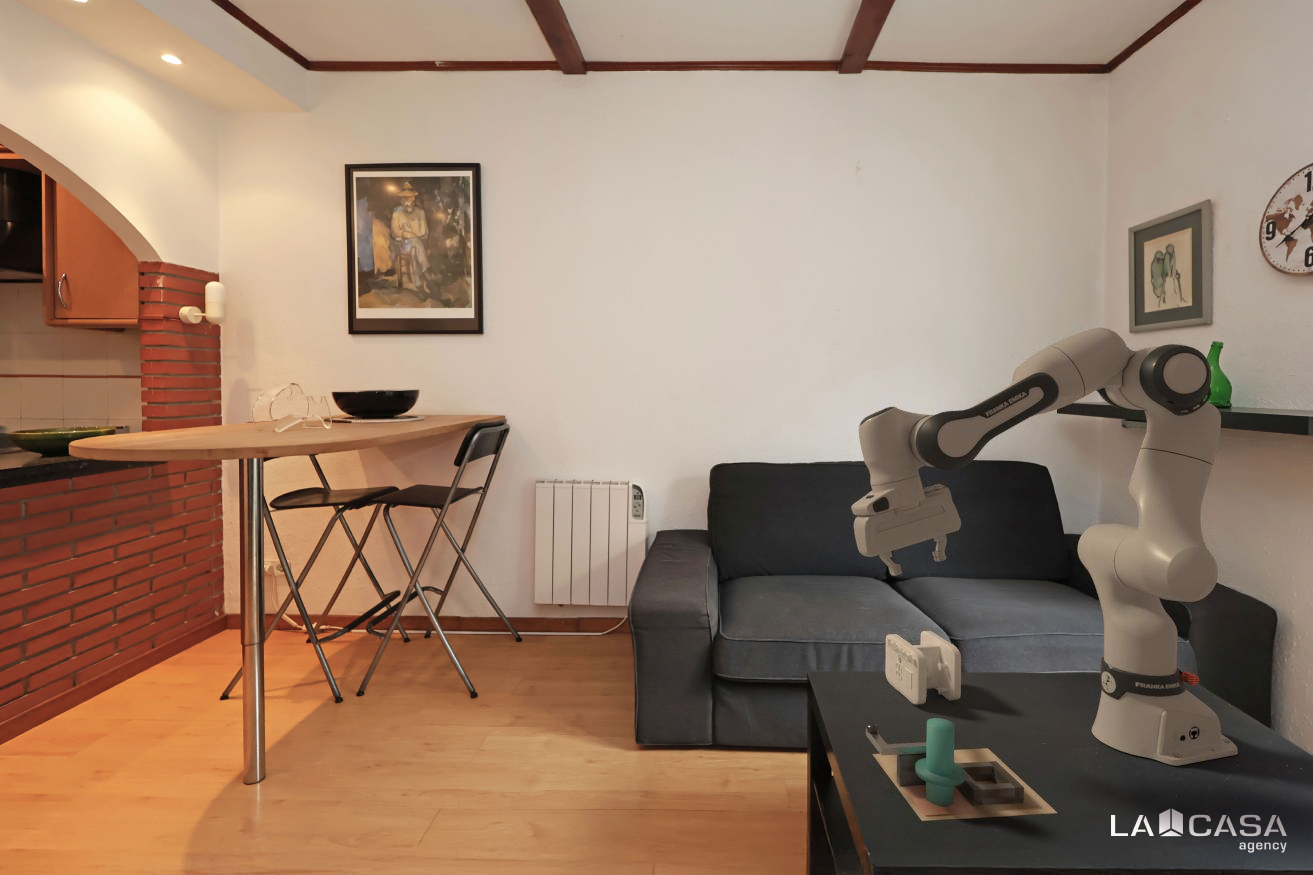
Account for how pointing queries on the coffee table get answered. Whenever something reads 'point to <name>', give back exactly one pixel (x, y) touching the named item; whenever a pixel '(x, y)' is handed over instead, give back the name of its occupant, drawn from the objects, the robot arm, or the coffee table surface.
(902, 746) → the lever
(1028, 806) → the socket board
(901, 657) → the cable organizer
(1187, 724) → the robot arm
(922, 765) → the plug
